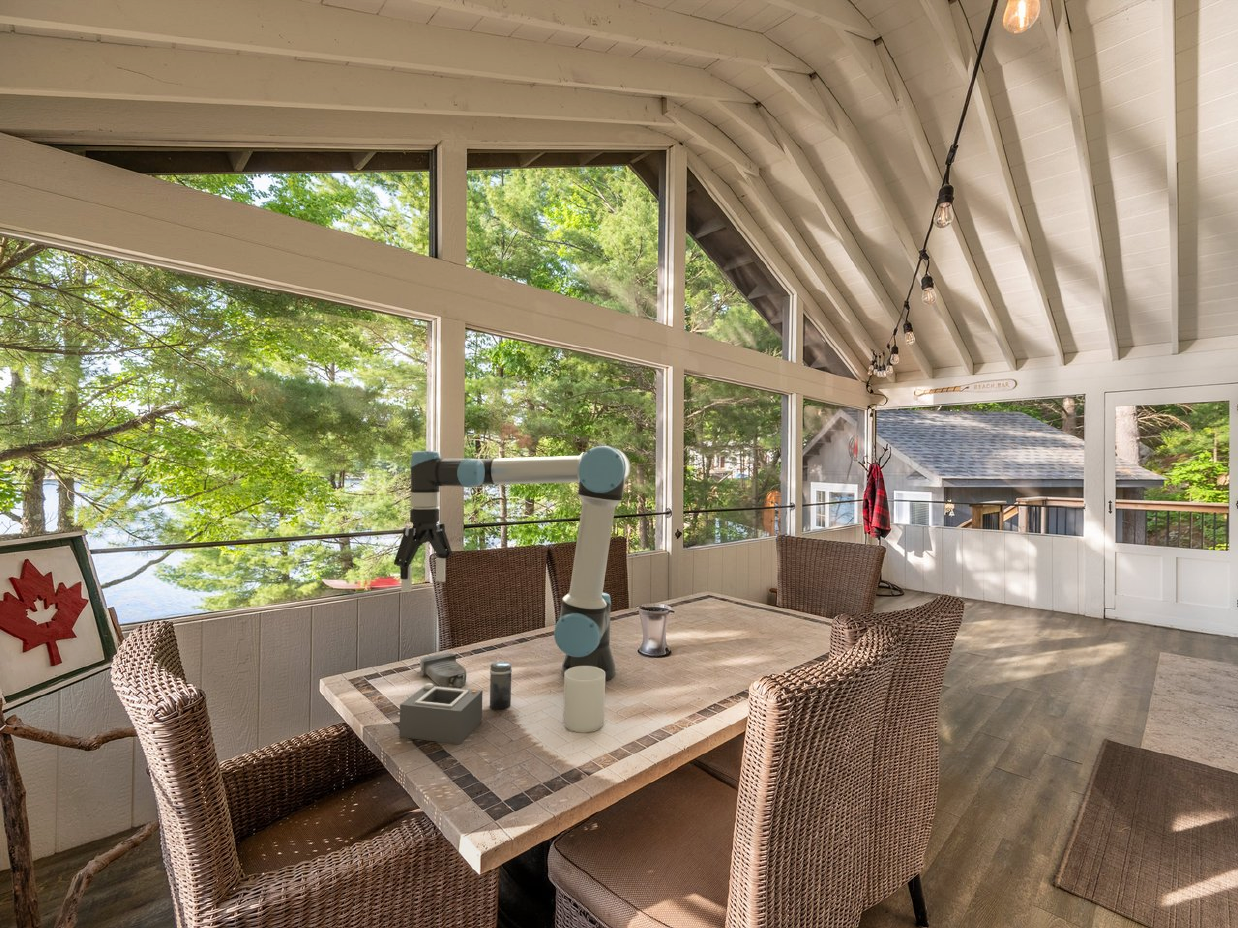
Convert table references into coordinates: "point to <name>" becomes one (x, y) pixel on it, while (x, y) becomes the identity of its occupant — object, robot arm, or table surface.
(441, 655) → the handheld device
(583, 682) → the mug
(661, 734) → the table surface
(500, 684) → the lens
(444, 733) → the grey planter box
